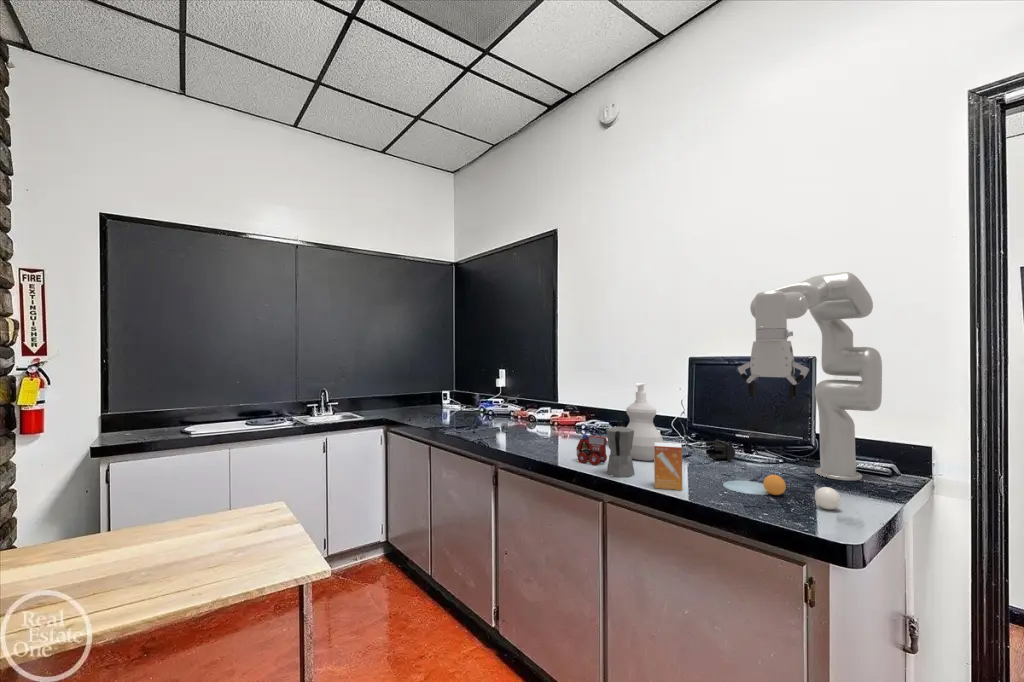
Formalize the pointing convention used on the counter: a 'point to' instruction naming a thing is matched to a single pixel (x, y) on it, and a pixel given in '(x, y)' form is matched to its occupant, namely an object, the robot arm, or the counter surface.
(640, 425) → the soap bottle
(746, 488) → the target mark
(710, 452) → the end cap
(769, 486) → the object ball
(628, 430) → the coffeepot
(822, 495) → the white egg
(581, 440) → the toy fire truck
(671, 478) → the small box
